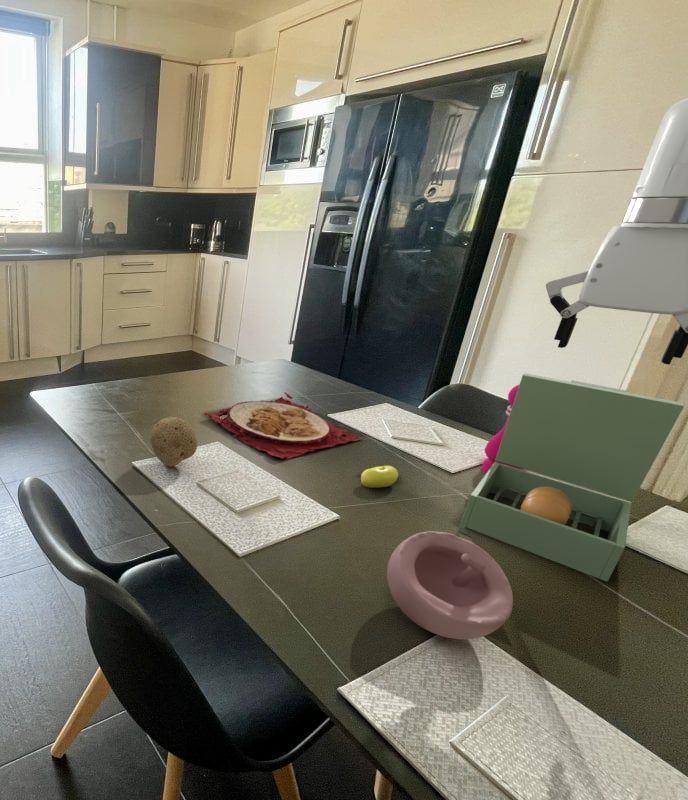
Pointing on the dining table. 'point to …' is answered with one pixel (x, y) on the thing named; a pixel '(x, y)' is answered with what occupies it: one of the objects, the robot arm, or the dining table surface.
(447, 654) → the dining table surface
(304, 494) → the dining table surface
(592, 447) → the lid
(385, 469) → the yellow oval piece
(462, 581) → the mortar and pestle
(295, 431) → the plate with food
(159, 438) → the natural sponge
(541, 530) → the bin
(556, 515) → the bread roll
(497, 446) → the pepper mill
